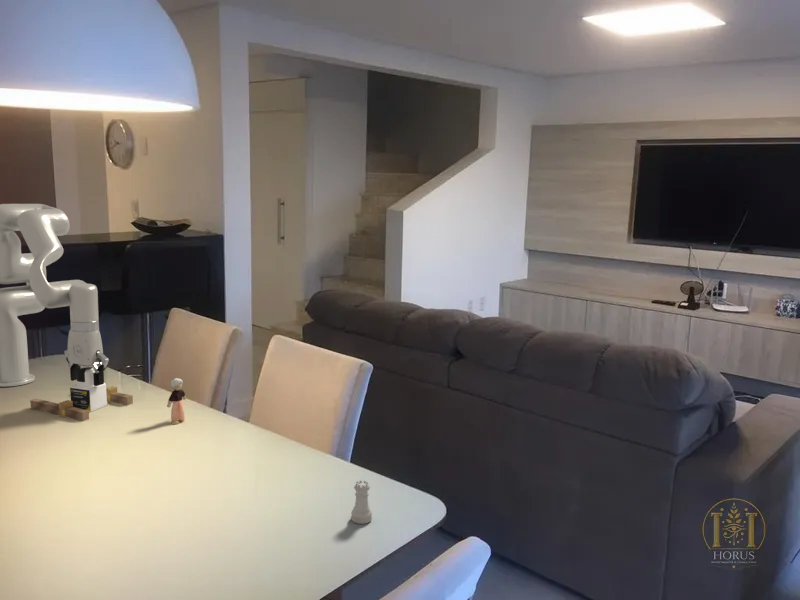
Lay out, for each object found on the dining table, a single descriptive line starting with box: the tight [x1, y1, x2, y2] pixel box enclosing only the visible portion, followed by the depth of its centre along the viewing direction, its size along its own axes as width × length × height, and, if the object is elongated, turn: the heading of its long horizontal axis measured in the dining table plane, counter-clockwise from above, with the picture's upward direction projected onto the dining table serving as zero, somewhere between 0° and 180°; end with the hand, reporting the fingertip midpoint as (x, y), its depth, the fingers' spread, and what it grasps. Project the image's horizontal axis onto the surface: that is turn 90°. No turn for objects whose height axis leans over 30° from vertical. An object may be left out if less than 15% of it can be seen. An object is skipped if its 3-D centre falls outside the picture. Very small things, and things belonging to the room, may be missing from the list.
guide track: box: [30, 385, 134, 422], centre depth 207 cm, size 22×19×4 cm
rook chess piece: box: [350, 479, 373, 525], centre depth 141 cm, size 4×4×8 cm
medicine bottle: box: [69, 366, 108, 413], centre depth 205 cm, size 7×7×12 cm
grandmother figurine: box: [166, 377, 187, 425], centre depth 195 cm, size 8×4×13 cm, turn 171°
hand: (87, 382), depth 205 cm, fingers open, 9 cm apart
